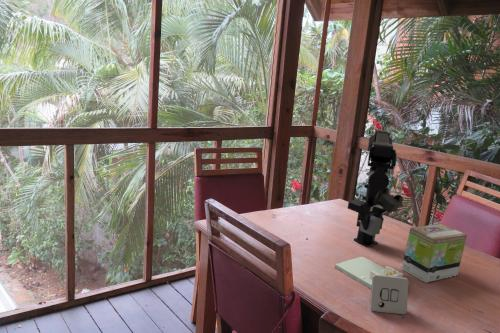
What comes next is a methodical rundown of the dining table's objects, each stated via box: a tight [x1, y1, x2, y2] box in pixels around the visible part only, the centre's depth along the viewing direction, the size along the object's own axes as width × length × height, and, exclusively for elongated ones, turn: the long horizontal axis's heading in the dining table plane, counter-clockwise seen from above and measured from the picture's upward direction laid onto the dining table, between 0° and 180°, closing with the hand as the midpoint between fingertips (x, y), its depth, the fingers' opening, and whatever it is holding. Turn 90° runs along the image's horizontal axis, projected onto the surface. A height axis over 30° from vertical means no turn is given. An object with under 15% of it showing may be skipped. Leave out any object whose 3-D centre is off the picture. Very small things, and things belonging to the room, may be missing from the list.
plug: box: [358, 216, 382, 236], centre depth 132 cm, size 4×5×5 cm
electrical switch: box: [369, 275, 410, 315], centre depth 106 cm, size 9×5×9 cm, turn 86°
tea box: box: [401, 223, 468, 284], centre depth 128 cm, size 15×10×15 cm, turn 117°
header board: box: [334, 256, 404, 290], centre depth 124 cm, size 17×13×4 cm
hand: (369, 228), depth 132 cm, fingers closed on plug, 4 cm apart
